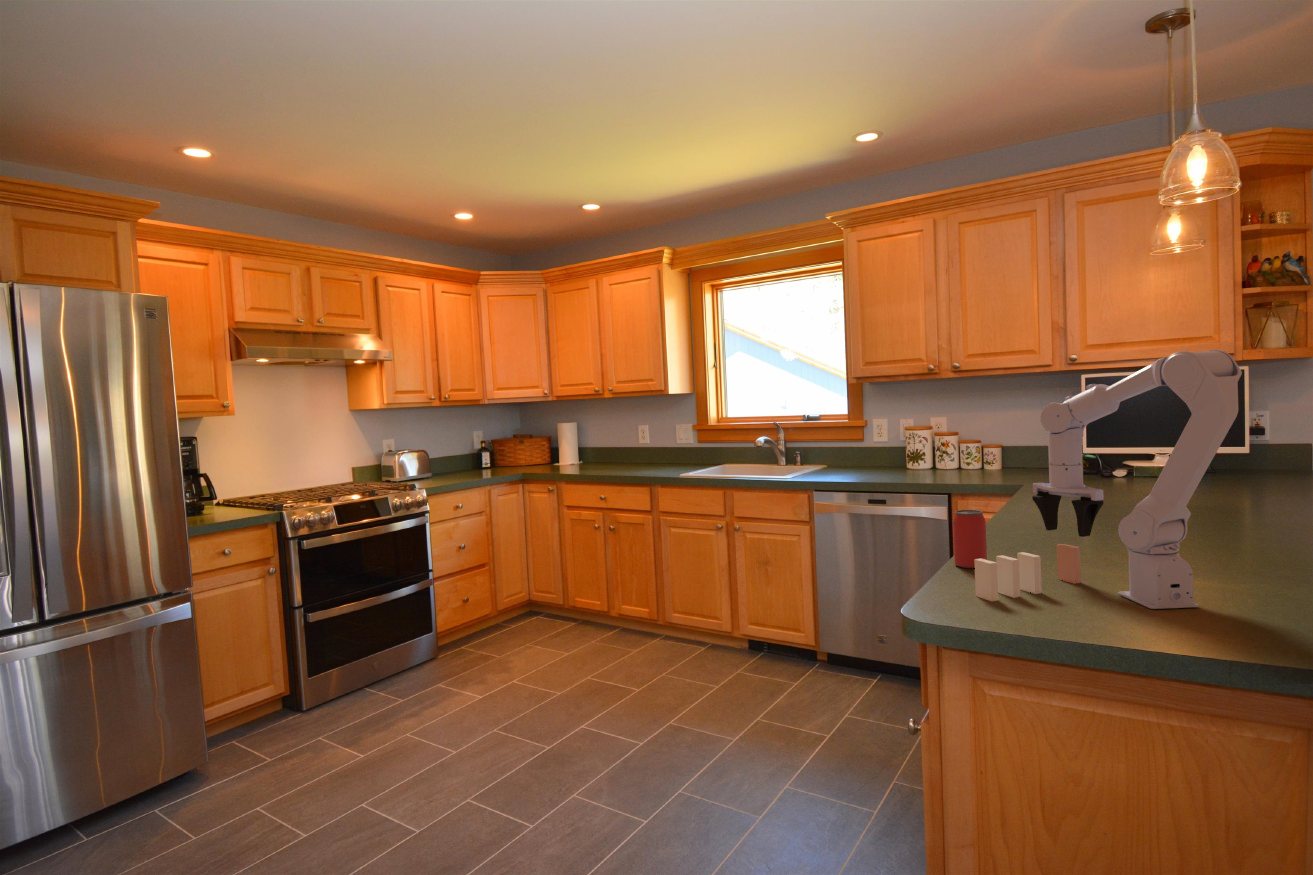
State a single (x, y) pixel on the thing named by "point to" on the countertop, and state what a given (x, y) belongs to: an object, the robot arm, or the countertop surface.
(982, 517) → the beer can
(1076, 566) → the rust domino
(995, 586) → the ivory domino
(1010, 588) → the ivory domino
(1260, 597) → the countertop surface
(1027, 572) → the ivory domino
